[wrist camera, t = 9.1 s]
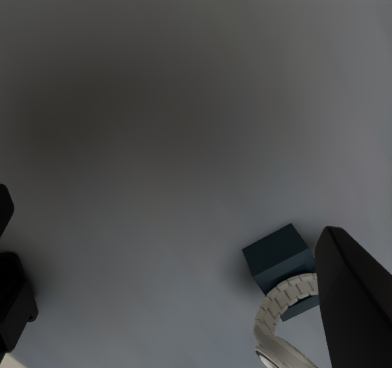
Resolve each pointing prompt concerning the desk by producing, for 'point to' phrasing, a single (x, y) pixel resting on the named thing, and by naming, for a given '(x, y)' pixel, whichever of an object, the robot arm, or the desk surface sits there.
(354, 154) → the desk surface
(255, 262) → the watch
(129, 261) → the desk surface
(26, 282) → the robot arm
